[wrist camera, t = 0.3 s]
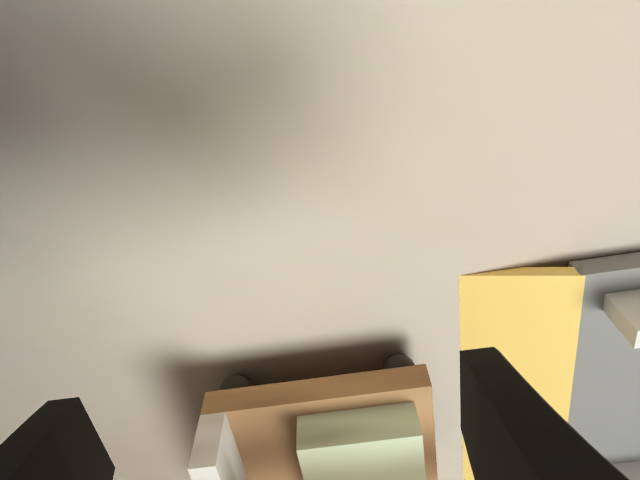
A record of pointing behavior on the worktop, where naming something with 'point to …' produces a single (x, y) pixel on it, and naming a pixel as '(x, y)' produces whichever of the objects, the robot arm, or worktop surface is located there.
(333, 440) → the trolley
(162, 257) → the worktop surface
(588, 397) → the loading dock
